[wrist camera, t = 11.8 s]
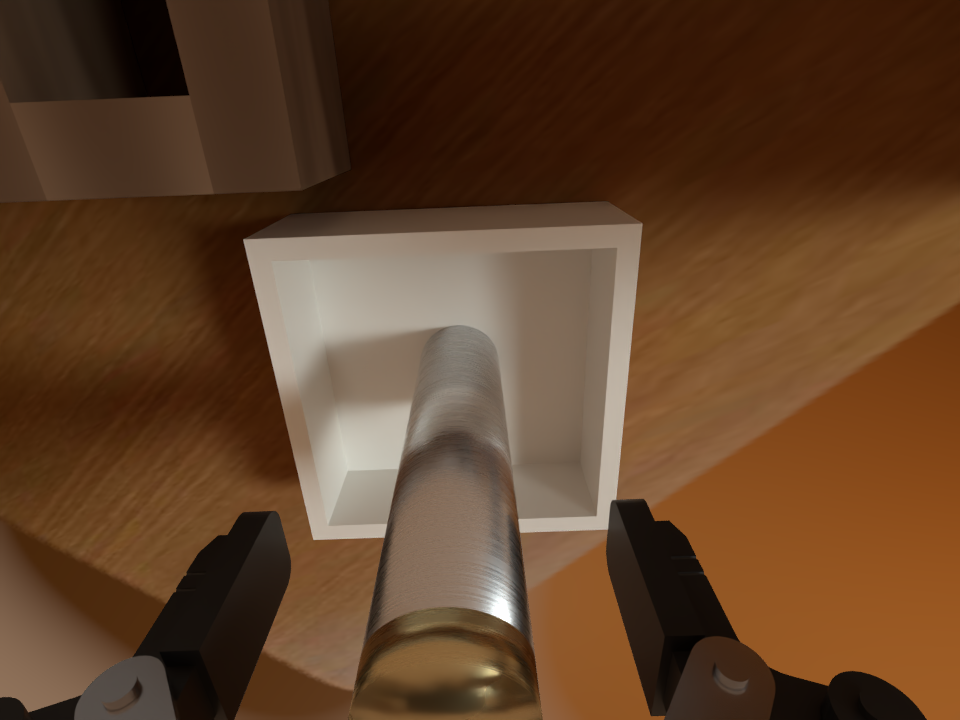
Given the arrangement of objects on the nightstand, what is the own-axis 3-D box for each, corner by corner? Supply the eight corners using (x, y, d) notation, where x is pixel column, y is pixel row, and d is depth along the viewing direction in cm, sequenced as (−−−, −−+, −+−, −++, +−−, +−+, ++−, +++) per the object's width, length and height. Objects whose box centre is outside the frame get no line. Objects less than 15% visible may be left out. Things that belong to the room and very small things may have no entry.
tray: (607, 201, 19) (642, 223, 15) (590, 460, 25) (613, 529, 20) (291, 213, 20) (243, 239, 15) (340, 469, 25) (313, 539, 21)
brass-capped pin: (498, 323, 20) (544, 659, 8) (499, 393, 22) (541, 776, 9) (417, 327, 20) (333, 668, 8) (424, 397, 22) (362, 783, 9)
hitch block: (306, -158, 15) (211, -313, 10) (351, 169, 19) (301, 190, 13) (1, -144, 15) (-265, -290, 10) (107, 179, 19) (-40, 204, 14)
